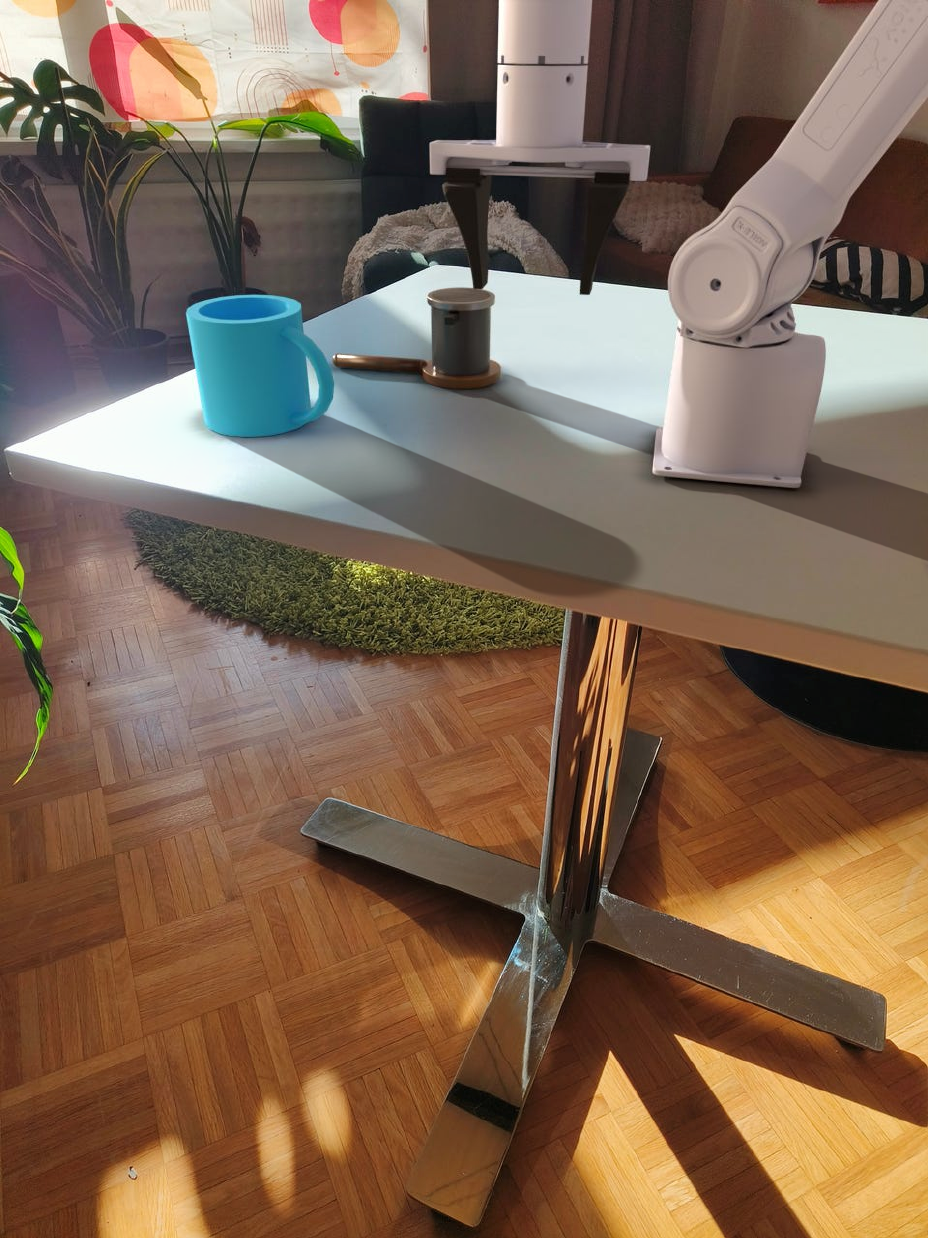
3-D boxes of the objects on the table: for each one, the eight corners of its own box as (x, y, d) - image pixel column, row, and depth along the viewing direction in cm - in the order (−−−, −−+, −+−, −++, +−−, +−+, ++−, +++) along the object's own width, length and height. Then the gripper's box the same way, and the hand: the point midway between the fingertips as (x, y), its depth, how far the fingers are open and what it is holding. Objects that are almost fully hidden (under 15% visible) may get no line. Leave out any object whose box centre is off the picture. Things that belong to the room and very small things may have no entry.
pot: (498, 359, 76) (500, 288, 73) (482, 385, 71) (483, 310, 67) (437, 355, 77) (436, 285, 74) (416, 380, 72) (414, 306, 68)
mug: (181, 421, 66) (161, 311, 61) (259, 392, 71) (246, 289, 67) (297, 457, 60) (283, 339, 56) (371, 422, 66) (365, 312, 61)
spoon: (506, 366, 77) (507, 353, 77) (492, 391, 72) (493, 377, 71) (345, 355, 80) (344, 342, 79) (320, 378, 74) (318, 364, 74)
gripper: (660, 64, 57) (636, 281, 64) (446, 62, 59) (447, 271, 67) (657, 66, 51) (631, 304, 58) (419, 64, 53) (424, 292, 61)
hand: (532, 288), depth 62 cm, fingers open, 7 cm apart
